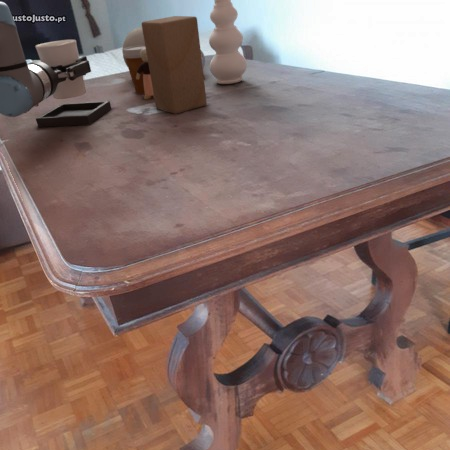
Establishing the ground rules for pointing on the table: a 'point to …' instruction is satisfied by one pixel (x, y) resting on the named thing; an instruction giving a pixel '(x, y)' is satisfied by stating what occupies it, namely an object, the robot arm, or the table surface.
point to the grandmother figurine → (145, 75)
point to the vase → (226, 44)
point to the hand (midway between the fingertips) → (68, 63)
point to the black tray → (74, 114)
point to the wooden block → (175, 63)
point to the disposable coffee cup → (135, 66)
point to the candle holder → (62, 55)
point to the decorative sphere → (133, 39)
